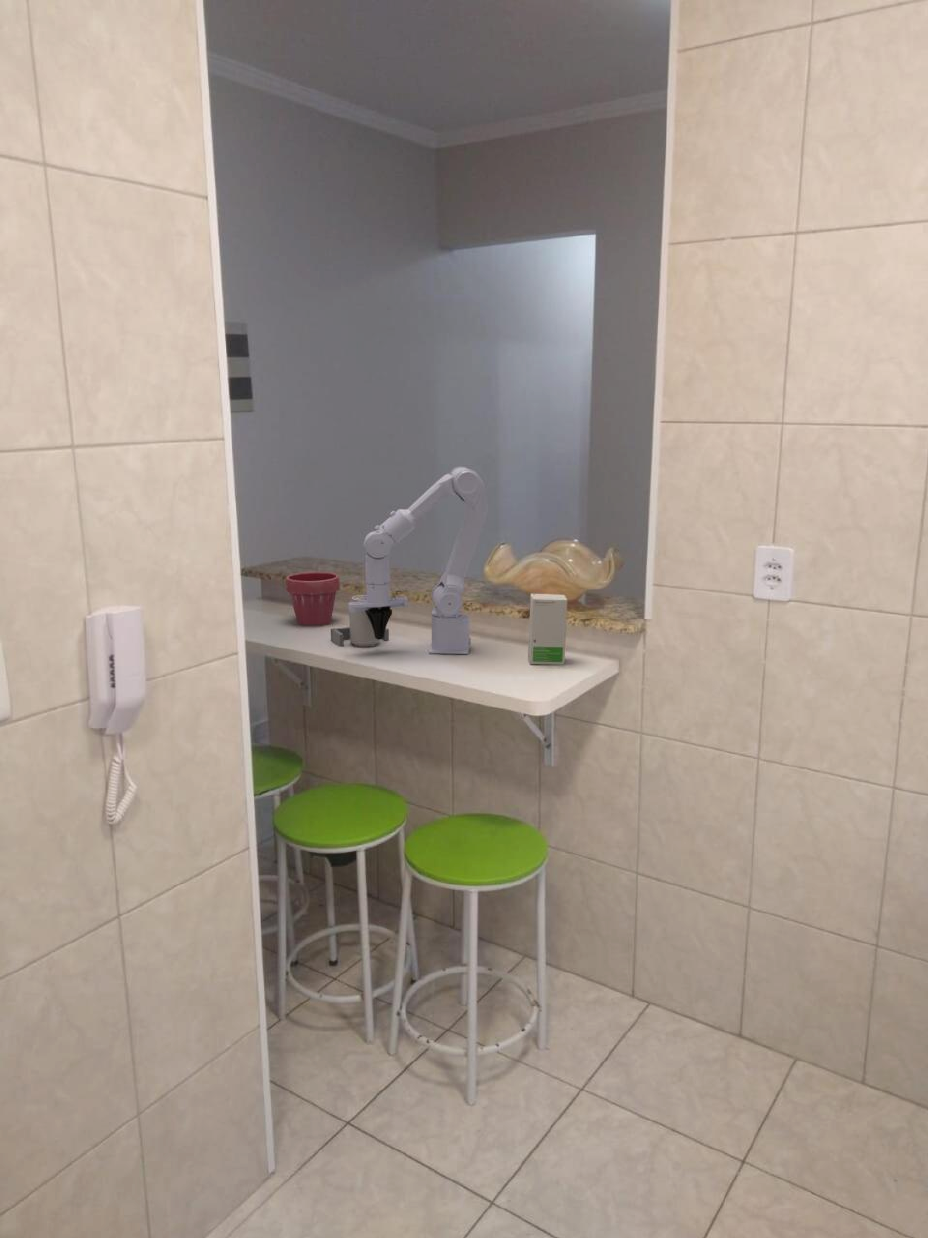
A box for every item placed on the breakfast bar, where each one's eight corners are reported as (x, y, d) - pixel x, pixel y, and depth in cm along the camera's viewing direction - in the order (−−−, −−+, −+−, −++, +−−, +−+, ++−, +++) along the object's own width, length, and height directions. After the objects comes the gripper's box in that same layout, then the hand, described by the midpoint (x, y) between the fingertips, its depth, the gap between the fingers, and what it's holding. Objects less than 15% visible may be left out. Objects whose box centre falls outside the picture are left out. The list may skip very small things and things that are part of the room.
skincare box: (529, 665, 218) (531, 599, 215) (527, 657, 225) (528, 593, 221) (566, 665, 218) (568, 599, 215) (562, 657, 225) (564, 593, 221)
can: (375, 648, 232) (374, 600, 229) (346, 647, 233) (345, 599, 230) (383, 640, 239) (383, 594, 236) (355, 639, 240) (354, 593, 237)
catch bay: (388, 640, 239) (388, 629, 238) (339, 646, 233) (339, 634, 232) (379, 634, 244) (379, 623, 244) (331, 640, 239) (330, 628, 238)
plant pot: (284, 617, 262) (282, 572, 259) (335, 614, 266) (333, 570, 263) (291, 630, 249) (289, 582, 246) (344, 626, 253) (343, 579, 250)
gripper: (399, 577, 230) (400, 631, 234) (343, 582, 224) (344, 638, 227) (411, 582, 224) (412, 637, 227) (353, 587, 218) (355, 644, 221)
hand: (379, 638), depth 227 cm, fingers closed
